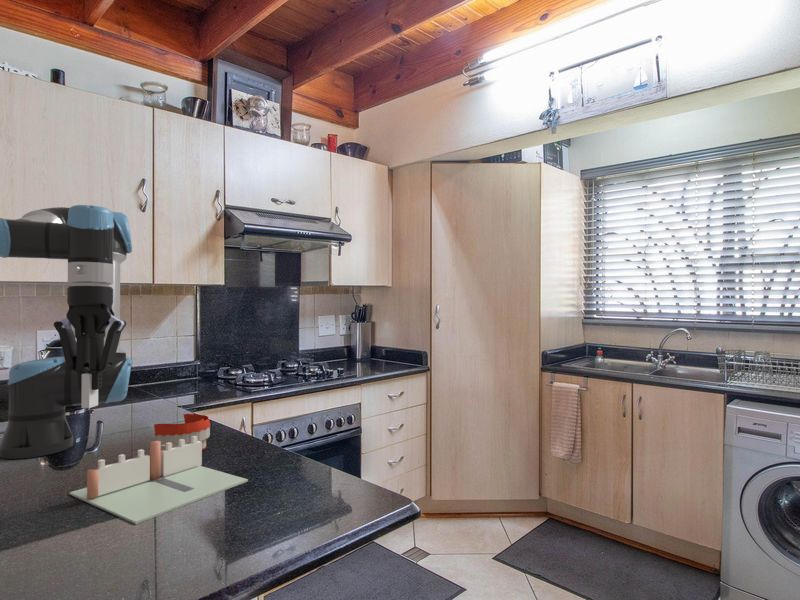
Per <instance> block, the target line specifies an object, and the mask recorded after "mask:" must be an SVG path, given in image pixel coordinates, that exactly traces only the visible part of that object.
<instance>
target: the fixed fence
mask: <svg viewBox="0 0 800 600" xmlns="http://www.w3.org/2000/svg"><path fill="white" fill-rule="evenodd" d="M172 445H173V444H172V443H170V442H168V443H166V450H162V451H161V441H155V440H154V441H150V442H149V456H150V480H157V479H160V478H161V476H163V477H164V476H168V475H171V474H174V473H177V472H180V471H183V470H187V469H190V468H193V467H196V466H202V465H203V451H202V442H201V441H197V436H192V437H191V443H189V444H185V440H184V439H180V440H179V446H177V447H174V448H172Z"/></svg>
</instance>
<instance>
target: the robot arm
mask: <svg viewBox="0 0 800 600" xmlns="http://www.w3.org/2000/svg"><path fill="white" fill-rule="evenodd" d="M132 252H133V244H132V235H131V227H130V222H129V219H128V217H127V215H126V213H123V212H118V211H113V210H110V208H106V207H103V206H98V205H90V204H77V205H76V204H75V205H73V206H70V207H65V206H64V207H62V206H61V207H59V206H57V207H49V208H41V209H36V210H32V211H28V212H26V213H25V214H24V215H23V216H21V218H17V219H9V218H8V219H6V218H1V217H0V257H1V258H3V259H4V258H5V259H6V258H18V259H19V258H23V259H49V260H50V259H51V260H66V261H67V283H68V284H70V286H68V287H67V292H66V293H67V294H66V303H67V305H68V310H67V313H66V317H64V318H63V319H61V320H58V321H55V322H54V323H53V327H54V328H55V330H56V331H57V333H58V335H59V340H60V345H61V348H62V352H63V356H54V357H45V358H39V359H33V360H29V361H23V362H18V363H16V364H14V365H12V367H10V369H9V371H8V372H9V373H8V381H7V386H8V400H7V401H8V409H7V410H8V412H7V414H8V415H7V416H8V421H7V426H6V428H5V430H4V433H3V436H2V438H1V441H0V458H1V459H7V460H8V459H9V460H17V459H18V460H21V459H30V458H37V457H43V456H48V455H52V454H56V453H57V454H58V453H61V452H63V451H66V450H68V449H71V448H72V447H73V446H74V435H73V432H72V430H71V427H70V425H69V423H68V419H67V418H66V417H67V416H66V407H73V406H75V407H77V406H81V409H91V408H94V407H97V406H99V404H108V403H116V402H121V401H123V400H125V399H126V397H127V395H128V389H129V382H130V377H131V368H132V364H133V363H132V362H133V359H131V358H130V357H127V352H126V350H124V349H123V348H122V347H121V335H122V333H123V330H124V329H125V327H126V326H127V321H126V320H121V264H122V263H123V262H125V261H126V260H127V254H130V253H131V254H132ZM73 328H74V330H73Z"/></svg>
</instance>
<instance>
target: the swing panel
mask: <svg viewBox="0 0 800 600" xmlns="http://www.w3.org/2000/svg"><path fill="white" fill-rule="evenodd" d="M86 474H87V475H86V487H87V498H88V499H91V498H96V497H98V496H100V495H103V494H107V493H110V492H113V491H116V490H119V489H123V488H126V487H129V486H132V485H135V484H139V483H142V482H145V481H148V480H150V454H149V455H148V454H145V450H144V449H142V448H141V449H138V450H137V456H136V457H133V458H129V459H126V454H124V453H123V454H119V455H118V461H117V462H114V463H111V464H110V463H109V464H106V460H105V459H102V458H101V459H98V460H97V467H96V468H95V467H94V468H91V469H90V468H89V469H87V471H86Z"/></svg>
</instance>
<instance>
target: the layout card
mask: <svg viewBox="0 0 800 600" xmlns="http://www.w3.org/2000/svg"><path fill="white" fill-rule="evenodd" d="M247 482H249V479H248V478H245V477H241V476H238V475H233V474H230V473H226V472H224V471H220V470H216V469H213V468H209V467H206V466H202V465H200V466H196V467H193V468H190V469H187V470H183V471H180V472H177V473H174V474H171V475H168V476H164V477H163V476H161V478H160V479H157V480H148V481H145V482H142V483H139V484H135V485H132V486H129V487H126V488H123V489H119V490H116V491H113V492H110V493H107V494H103V495H100V496H98V497H96V498H91V499H88V498H87V486H86V487H83V488H80V489H76V490H73V491H70V492H69V495H70V496H72V497H75V498H76V499H79V500H81V501H83V502H86V503H88V504H90V505H92V506H94V507H97V508H99V509H102V510H103V511H105V512H108V513H110V514H112V515H114V516H116V517H119V518H121V519H123V520H125V521H127V522H129V523H132V524H134V525H139V524H140V523H141V524H142V523H144V522H146V521H148V520H151V519H154V518H156V517H160V516H161V515H164V514H167V513H169V512H172V511H175V510H177V509H180V508H182V507H185V506H188V505H190V504H192V503H195V502H198V501H200V500H204V499H206V498H208V497H210V496H213V495H216V494H219V493H222V492H224V491H227V490H229V489H231V488H234V487H237V486H240V485H242V484H245V483H247Z"/></svg>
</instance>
